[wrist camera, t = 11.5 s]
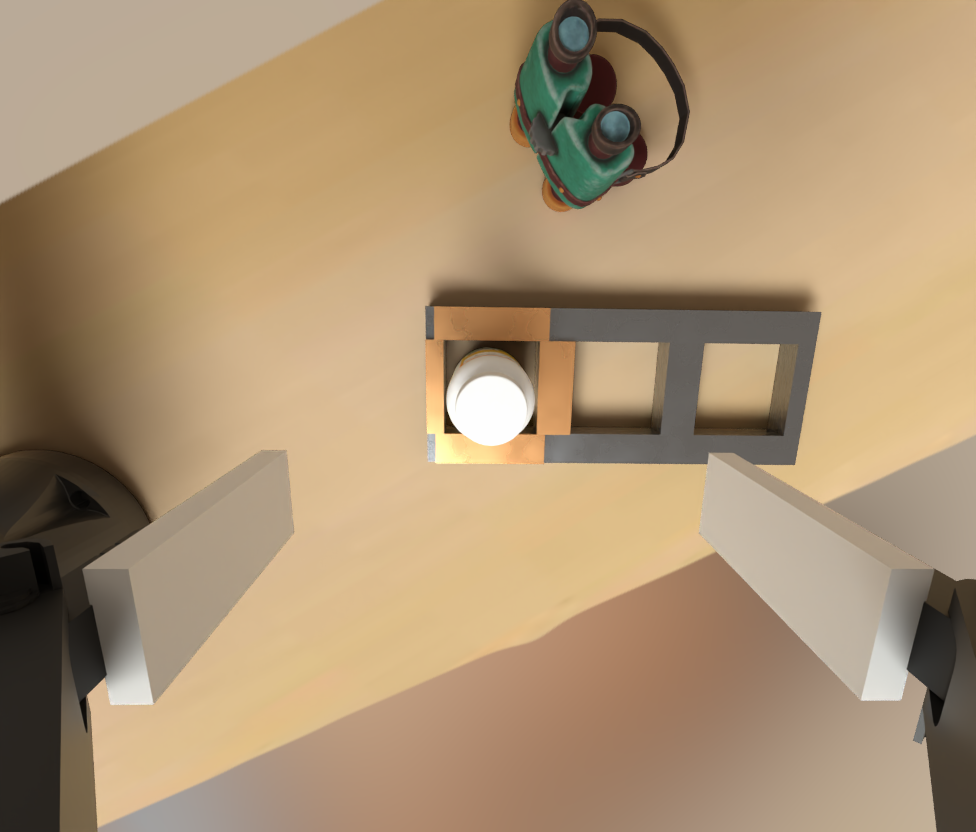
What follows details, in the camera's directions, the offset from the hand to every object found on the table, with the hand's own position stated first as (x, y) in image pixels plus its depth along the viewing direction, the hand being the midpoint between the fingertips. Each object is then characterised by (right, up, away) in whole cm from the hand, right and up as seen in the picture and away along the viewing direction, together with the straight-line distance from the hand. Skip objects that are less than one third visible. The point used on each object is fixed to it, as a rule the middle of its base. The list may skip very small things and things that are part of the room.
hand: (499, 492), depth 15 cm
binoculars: (+6, +21, +17) cm, 28 cm away
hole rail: (+9, +5, +20) cm, 23 cm away
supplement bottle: (0, +5, +20) cm, 21 cm away
